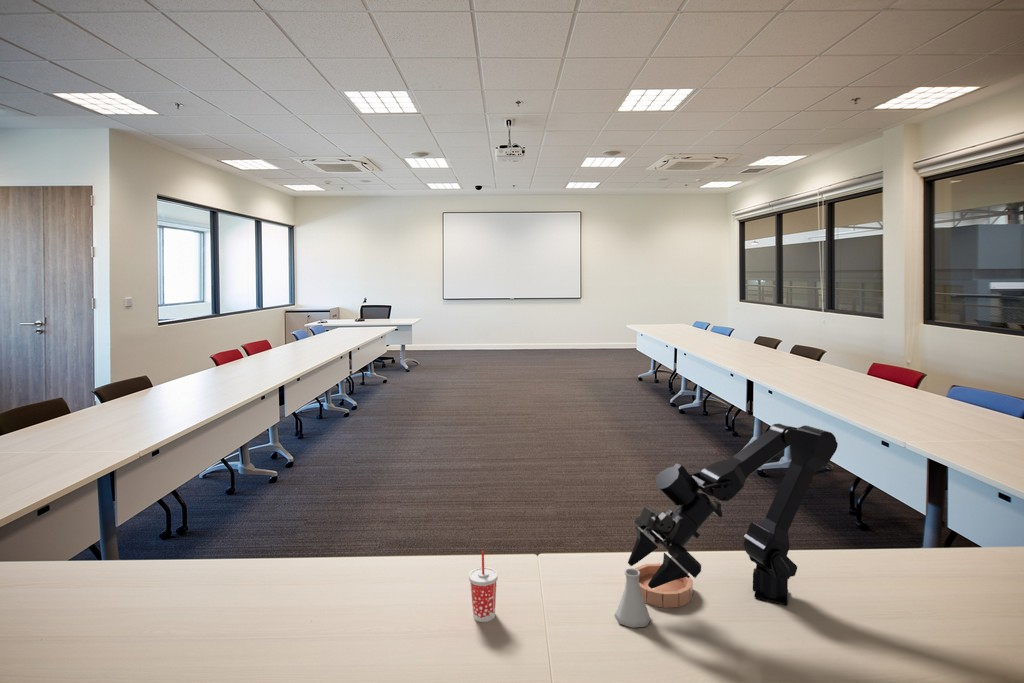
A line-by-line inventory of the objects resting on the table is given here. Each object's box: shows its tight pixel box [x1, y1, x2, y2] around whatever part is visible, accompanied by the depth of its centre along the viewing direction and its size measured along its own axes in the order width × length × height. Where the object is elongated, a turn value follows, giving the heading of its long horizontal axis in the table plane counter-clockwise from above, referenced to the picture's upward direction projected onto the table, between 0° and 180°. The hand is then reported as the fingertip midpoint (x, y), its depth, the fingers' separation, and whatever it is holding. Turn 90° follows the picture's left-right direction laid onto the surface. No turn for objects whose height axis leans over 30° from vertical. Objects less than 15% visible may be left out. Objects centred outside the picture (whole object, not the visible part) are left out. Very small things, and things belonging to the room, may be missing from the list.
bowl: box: [634, 563, 694, 609], centre depth 120 cm, size 13×13×3 cm
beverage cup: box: [468, 550, 499, 623], centre depth 111 cm, size 6×6×14 cm
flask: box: [614, 568, 651, 628], centre depth 109 cm, size 7×7×10 cm
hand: (639, 575), depth 109 cm, fingers open, 9 cm apart
